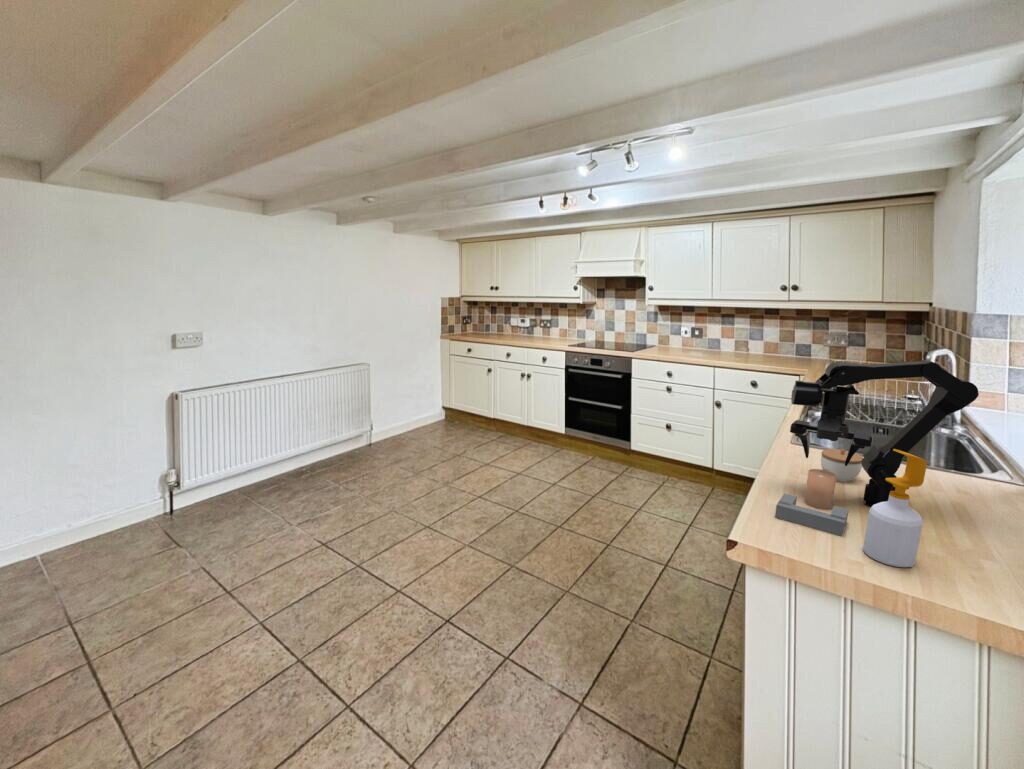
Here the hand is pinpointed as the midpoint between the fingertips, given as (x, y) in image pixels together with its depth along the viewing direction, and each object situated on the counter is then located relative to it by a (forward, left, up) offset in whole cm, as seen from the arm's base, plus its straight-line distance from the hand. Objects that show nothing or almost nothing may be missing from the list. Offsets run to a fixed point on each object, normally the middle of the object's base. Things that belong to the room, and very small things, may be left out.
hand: (825, 461), depth 131 cm
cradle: (0, +18, -10) cm, 21 cm away
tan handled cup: (0, +5, -10) cm, 11 cm away
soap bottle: (-16, +27, -11) cm, 33 cm away
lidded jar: (-2, -19, -11) cm, 22 cm away
